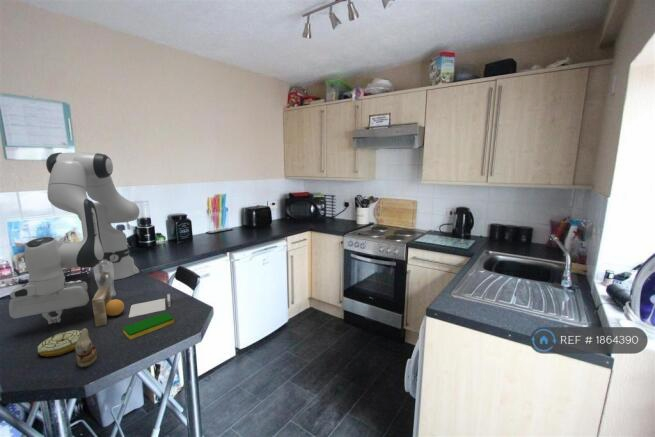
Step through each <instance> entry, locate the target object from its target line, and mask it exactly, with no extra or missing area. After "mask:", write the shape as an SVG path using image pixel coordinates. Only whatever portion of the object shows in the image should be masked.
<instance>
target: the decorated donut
mask: <svg viewBox="0 0 655 437" xmlns="http://www.w3.org/2000/svg"><path fill="white" fill-rule="evenodd" d="M81 331H82V330H79V329H78V330H76V329H74V330H73V329H72V330H69V331H65V332H60V333H57V334H55V335H52V336H50V337H48V338H47V339H45V340H43V341H42V342H41V343H39V345H38V346H37V353H38V354H39V355H40V356H41V357H54V356H55V357H56V356H61V355H64V354H66V353H69V352H71V351H75V348H76V343H77V340H78V337H79V336H80V334H81Z"/></svg>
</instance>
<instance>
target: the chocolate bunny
mask: <svg viewBox="0 0 655 437" xmlns="http://www.w3.org/2000/svg"><path fill="white" fill-rule="evenodd" d="M80 331H81V334H80V336H79V337H78V340H77V343H76V348H75V349H74V351H75V354H76V355H75V357H76V362H77V363H76V364H77V366H79V367H80V368H87V367H89V366H91V365H93V364H94V363H95V361H97V360H98V351H97V349H96V346H94V345H93V342H92V340H91V338H90V337H89V336H90V335H89V331H88V329H87V328H86V327H85V328H82V329H81V330H80Z"/></svg>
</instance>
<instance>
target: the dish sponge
mask: <svg viewBox="0 0 655 437" xmlns="http://www.w3.org/2000/svg"><path fill="white" fill-rule="evenodd" d="M174 323H175V318H174V317H173V316H172V315H170V314H169V313H168V312H162V313H160V314H157V315H154V316H151V317H149V318H146V319H143V320H140V321H137V322H134V323H132V324H129V325H125V326H124V327H122V332H123V334H124V335H125V336H126V337H127V339H128V340H134V339H137V338H139V337H141V336H144V335H146V334H149V333H152V332H155V331H157V330H159V329H160V330H161V328H165V327H167V326H170V325H172V324H174Z"/></svg>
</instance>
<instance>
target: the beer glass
mask: <svg viewBox="0 0 655 437" xmlns="http://www.w3.org/2000/svg"><path fill="white" fill-rule="evenodd" d="M93 276H94V277H93V278H94V280H95V283H96V285H97V287H98V288H99V286H105V285H109V288H110V295H111V298H113V297H115V296H116V295H117V292H116V290H115V280H114V268H113V264H112V261H102V262H100V263H99V264H97V265H96V266H95V267H93Z"/></svg>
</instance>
